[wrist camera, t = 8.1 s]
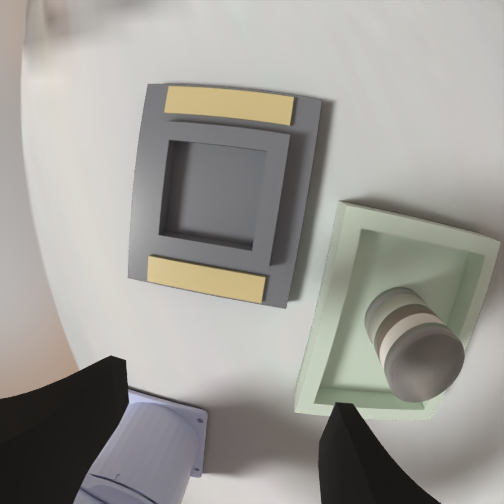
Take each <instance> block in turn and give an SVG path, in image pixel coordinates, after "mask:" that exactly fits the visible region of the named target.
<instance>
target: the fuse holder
mask: <svg viewBox="0 0 504 504" xmlns="http://www.w3.org/2000/svg"><path fill="white" fill-rule="evenodd" d="M321 103H322V100H321V99H315V98H309V97H304V96H297V95H291V94H284V93H277V92H270V91H262V90H253V89H244V88H233V87H221V86H206V85H185V84H148V86H147V92H146V97H145V103H144V109H143V115H142V121H141V128H140V134H139V141H138V149H137V157H136V165H135V174H134V184H133V194H132V206H131V220H130V236H129V257H128V278H131V279H135V280H140V281H144V282H149V283H153V284H158V285H163V286H167V287H172V288H177V289H182V290H187V291H192V292H197V293H202V294H207V295H212V296H217V297H223V298H228V299H233V300H239V301H244V302H250V303H255V304H261V305H267V306H273V307H278V308H284V309H286V307H287V302H288V297H289V292H290V287H291V282H292V277H293V272H294V267H295V262H296V256H297V251H298V246H299V240H300V235H301V229H302V224H303V218H304V212H305V206H306V201H307V195H308V189H309V183H310V177H311V170H312V164H313V158H314V151H315V145H316V138H317V131H318V124H319V117H320V110H321Z"/></svg>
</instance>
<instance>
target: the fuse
mask: <svg viewBox="0 0 504 504" xmlns="http://www.w3.org/2000/svg"><path fill="white" fill-rule="evenodd" d="M364 322H365V329H366V332H367V334H368V337H369V339H370V341H371V343H372V344H373V346H374V348H375V351H376V354H377V356H378V359H379V361H380V363H381V365H382V367H383V370H384V373H385V377H386V379H387V382H388V384H389V387H390V389H391V391H392V393H393V394H394V395H395V396H396V397H397V398H398V399H400V400H402V401H405V402H411V403H417V402H423V401H426V400H429V399H432V398H434V397H436V396H438V395H439V394H441V393H442V392H444V391H445V390H446V389H447V388H448V387H449V386H450V385H451V384H452V383H453V382H454V381H455V379H456V378H457V376H458V375H459V373H460V371H461V369H462V366H463V363H464V348H463V345H462V343H461V341H460V340H459V339H458V337H457V336H456V335H455V334H454V333H453V332H452V331H451V330H450V329H449V328H448V327H447V326H446V325H445V324H444V323H443V322H442V320H441V319H440V318H439V317H438V316H437V315H436V314H435V313H434V312H433V311H432V310H431V309H430V308H429V307H428V306H427V304H426V303H425V301H424V300H423V299H422V298H421V297H420V296H419V295H418V294H417V293H416V292H415V291H413V290H411V289H409V288H406V287H394V288H390V289H388V290H385V291H384V292H382V293H380V294H379V295H378V296H377V297H376V298H374V300H373V301H372V302H371V304H370V305H369V307H368V309H367V311H366V314H365V320H364Z"/></svg>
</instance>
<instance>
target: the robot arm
mask: <svg viewBox="0 0 504 504" xmlns="http://www.w3.org/2000/svg"><path fill="white" fill-rule="evenodd" d="M207 418H208V414H207V412H206V411H205V410H202V409H198V408H194V407H190V406H186V405H182V404H178V403H174V402H170V401H167V400H163V399H159V398H156V397H152V396H149V395H146V394H142V393H139V392H136V391H132V390H129V389H128V383H127V369H126V360H124V359H121V358H117V357H114V356H109V357H106V358H104V359H102V360H100V361H98V362H96V363H94V364H92V365H90V366H88V367H86V368H84V369H82V370H80V371H78V372H76V373H74V374H72V375H70V376H68V377H66V378H64V379H61V380H59V381H56V382H54V383H52V384H49V385H47V386H44V387H42V388H39V389H36V390H33V391H31V392H28V393H24V394H20V395H17V396H13V397H8V398H3V399H0V504H181V502H182V499H183V496H184V493H185V490H186V487H187V484H188V481H189V478H190V476H192V477H196V478H200V477H201V476H202V471H203V460H204V449H205V438H206V428H207ZM200 419H202V420H200ZM318 468H319V480H320V492H321V503H322V504H441V503H440V502H438V501H437V500H436V499H434V498H433V497H432V496H430V495H429V494H428V493H427V492H425V491H424V490H423V489H422V488H421V487H420V486H418V485H417V484H416V483H415V482H414V481H413V480H412V479H411V478H410V477H409V476H408V475H407V474H406V473H405V472H404V471H403V470H402V469H401V468H400V467H399V465H398V464H397V463H396V462H395V461H394V460H393V458H392V457H391V456H390V455H389V454H388V452H387V451H386V450H385V449H384V447H383V446H382V445H381V443H380V442H379V441H378V439H377V438H376V437H375V435H374V434H373V432H372V431H371V429H370V428H369V426H368V425H367V424H366V422H365V421H364V419H363V418H362V416H361V415H360V413H359V412H358V410H357V409H356V407H355V406H354V404H353V403H342V402H335V405H334V407H333V410H332V412H331V415H330V417H329V420H328V422H327V425H326V427H325V430H324V432H323V434H322V437H321V439H320V441H319V462H318Z"/></svg>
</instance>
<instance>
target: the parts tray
mask: <svg viewBox="0 0 504 504" xmlns="http://www.w3.org/2000/svg"><path fill="white" fill-rule="evenodd" d="M500 243H501V242H500V241H497V240H495V239H492V238H490V237H487V236H485V235H483V234H480V233H476V232H472V231H469V230H465V229H461V228H457V227H453V226H449V225H445V224H441V223H437V222H433V221H429V220H425V219H421V218H417V217H412V216H408V215H404V214H399V213H395V212H390V211H386V210H381V209H376V208H372V207H367V206H362V205H357V204H352V203H347V202H342V201H339V202H338V207H337V213H336V218H335V223H334V228H333V234H332V239H331V244H330V248H329V253H328V258H327V263H326V267H325V272H324V277H323V281H322V285H321V290H320V294H319V298H318V303H317V307H316V311H315V315H314V319H313V323H312V327H311V331H310V335H309V339H308V343H307V347H306V351H305V355H304V358H303V362H302V366H301V369H300V373H299V377H298V380H297V384H296V387H295V413H302V414H311V415H321V416H330V415H331V412H332V410H333V407H334V405H335V402H342V403H353V404H354V406H355V407H356V409H357V410H358V412H359V413H360V415H361V416H362V418H363V419H379V420H430V419H431V417H432V416H433V414H434V412H435V410H436V409H437V407H438V405H439V403H440V401H441V399H442V397H443V395H444V394H445V392H446V390H447V389H446V390H445V391H444V392H442V393H441V394H439V395H438V396H436V397H434V398H432V399H429V400H426V401H423V402H417V403H411V402H405V401H402V400H400V399H398V398H397V397H396V396H395V395H394V394H393V393H392V391H391V389H390V387H389V384H388V382H387V379H386V377H385V373H384V370H383V367H382V365H381V363H380V361H379V359H378V356H377V354H376V351H375V348H374V346H373V344H372V343H371V341H370V339H369V337H368V334H367V332H366V329H365V322H364V320H365V314H366V311H367V309H368V307H369V305H370V304H371V302H372V301H373V300H374V298H376V297H377V296H378V295H379V294H380V293H382V292H384V291H385V290H388V289H390V288H394V287H406V288H409V289H411V290H413V291H415V292H416V293H417V294H418V295H419V296H420V297H421V298H422V299H423V300H424V301H425V303H426V304H427V306H428V307H429V308H430V309H431V310H432V311H433V312H434V313H435V314H436V315H437V316H438V317H439V318H440V319H441V320H442V322H443V323H444V324H445V325H446V326H447V327H448V328H449V329H450V330H451V331H452V332H453V333H454V334H455V335H456V336H457V337H458V339H459V340H460V341H461V343H462V345H463V348H464V351H465V349H466V347H467V344H468V342H469V339H470V337H471V334H472V332H473V329H474V327H475V324H476V322H477V319H478V316H479V313H480V311H481V308H482V305H483V302H484V299H485V296H486V293H487V290H488V287H489V283H490V280H491V277H492V273H493V270H494V266H495V263H496V259H497V255H498V251H499V247H500Z"/></svg>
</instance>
